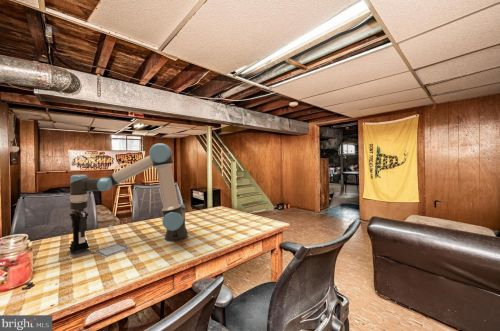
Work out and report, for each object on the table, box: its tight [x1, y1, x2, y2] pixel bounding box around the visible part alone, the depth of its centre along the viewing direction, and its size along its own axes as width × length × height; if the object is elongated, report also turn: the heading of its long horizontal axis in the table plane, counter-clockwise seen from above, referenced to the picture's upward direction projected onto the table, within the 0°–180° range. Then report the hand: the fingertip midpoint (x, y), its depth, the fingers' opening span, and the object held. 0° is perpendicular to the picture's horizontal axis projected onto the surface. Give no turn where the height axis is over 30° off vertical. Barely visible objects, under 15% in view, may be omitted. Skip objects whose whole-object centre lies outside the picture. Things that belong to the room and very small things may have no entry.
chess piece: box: [68, 211, 90, 252], centre depth 118 cm, size 8×8×20 cm
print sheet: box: [93, 242, 132, 258], centre depth 122 cm, size 14×14×1 cm
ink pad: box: [66, 248, 92, 258], centre depth 118 cm, size 8×10×2 cm
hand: (79, 241), depth 118 cm, fingers closed on chess piece, 7 cm apart
